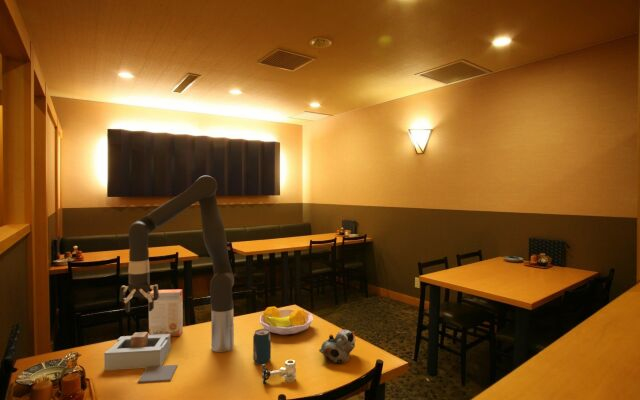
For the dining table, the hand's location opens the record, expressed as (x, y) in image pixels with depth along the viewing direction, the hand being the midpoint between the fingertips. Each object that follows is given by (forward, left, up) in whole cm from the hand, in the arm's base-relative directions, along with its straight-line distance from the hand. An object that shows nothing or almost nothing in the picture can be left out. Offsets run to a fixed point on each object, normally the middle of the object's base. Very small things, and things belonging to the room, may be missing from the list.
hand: (139, 311), depth 147 cm
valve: (-55, +25, -20) cm, 64 cm away
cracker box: (-4, -25, -20) cm, 32 cm away
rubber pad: (-11, +14, -20) cm, 26 cm away
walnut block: (0, 0, -18) cm, 18 cm away
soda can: (-49, +9, -20) cm, 54 cm away
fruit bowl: (-60, -23, -20) cm, 67 cm away
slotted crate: (0, 0, -20) cm, 20 cm away
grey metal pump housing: (-80, +10, -20) cm, 83 cm away
